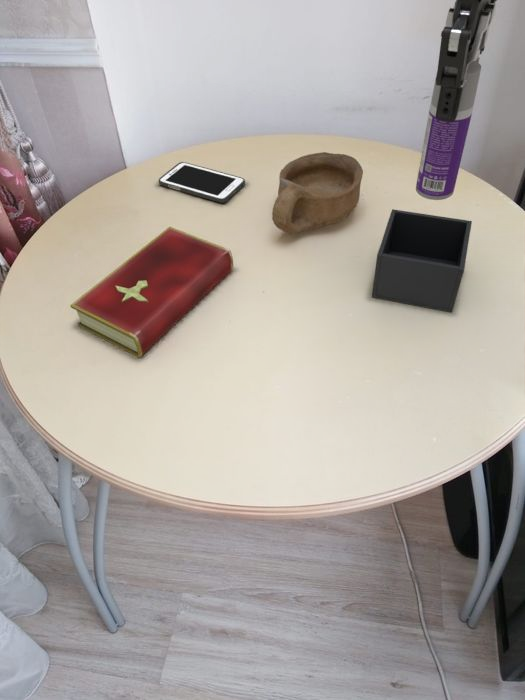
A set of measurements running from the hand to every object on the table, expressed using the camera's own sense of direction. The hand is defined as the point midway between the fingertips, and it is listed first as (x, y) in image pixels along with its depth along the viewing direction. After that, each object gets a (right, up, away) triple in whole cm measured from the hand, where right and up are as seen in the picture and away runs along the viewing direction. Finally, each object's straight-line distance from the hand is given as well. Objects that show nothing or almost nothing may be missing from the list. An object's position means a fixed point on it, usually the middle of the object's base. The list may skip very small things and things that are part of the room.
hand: (451, 109), depth 64 cm
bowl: (-13, -6, +31) cm, 34 cm away
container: (0, -7, +8) cm, 11 cm away
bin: (+1, -17, +19) cm, 26 cm away
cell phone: (-32, +3, +39) cm, 51 cm away
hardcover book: (-37, -20, +19) cm, 46 cm away
